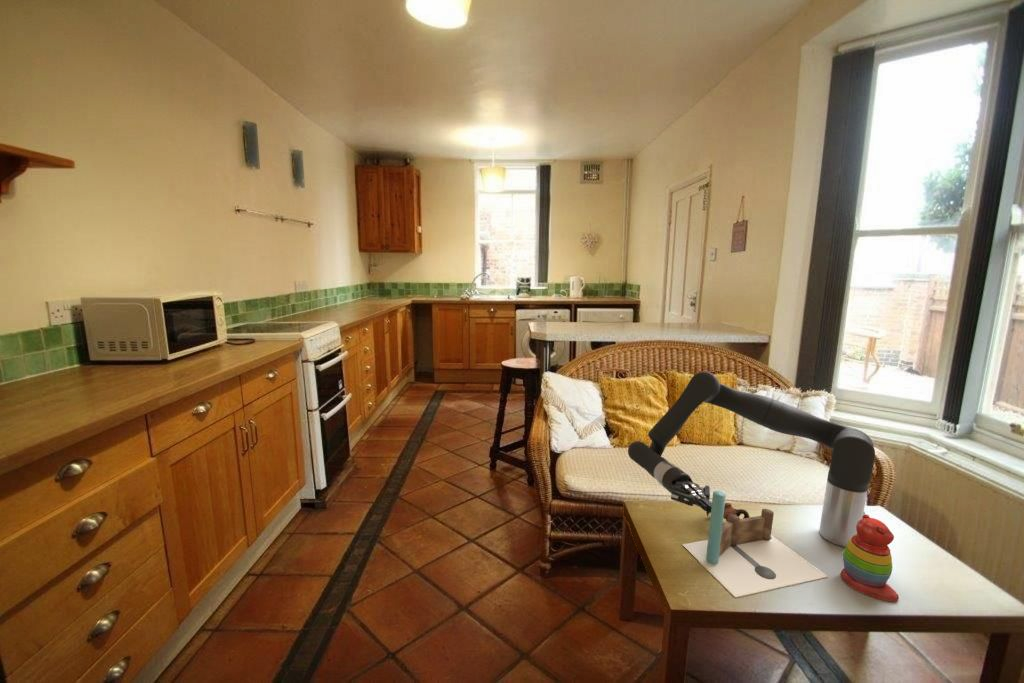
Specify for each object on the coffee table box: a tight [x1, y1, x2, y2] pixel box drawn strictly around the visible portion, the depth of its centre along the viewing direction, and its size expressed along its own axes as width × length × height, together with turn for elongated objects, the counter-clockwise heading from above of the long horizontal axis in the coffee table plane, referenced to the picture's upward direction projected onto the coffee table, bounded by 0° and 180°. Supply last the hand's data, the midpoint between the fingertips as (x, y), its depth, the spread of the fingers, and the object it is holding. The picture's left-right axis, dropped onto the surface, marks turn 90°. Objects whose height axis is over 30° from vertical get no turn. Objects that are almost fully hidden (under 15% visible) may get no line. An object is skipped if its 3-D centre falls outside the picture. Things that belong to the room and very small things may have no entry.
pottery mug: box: [705, 502, 751, 527], centre depth 129 cm, size 12×10×8 cm
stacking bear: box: [840, 513, 900, 603], centre depth 104 cm, size 11×10×18 cm
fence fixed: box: [726, 508, 775, 547], centre depth 121 cm, size 15×3×8 cm, turn 105°
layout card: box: [682, 534, 829, 599], centre depth 114 cm, size 29×20×1 cm
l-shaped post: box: [706, 490, 733, 564], centre depth 114 cm, size 12×3×20 cm, turn 130°
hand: (711, 509), depth 111 cm, fingers closed
